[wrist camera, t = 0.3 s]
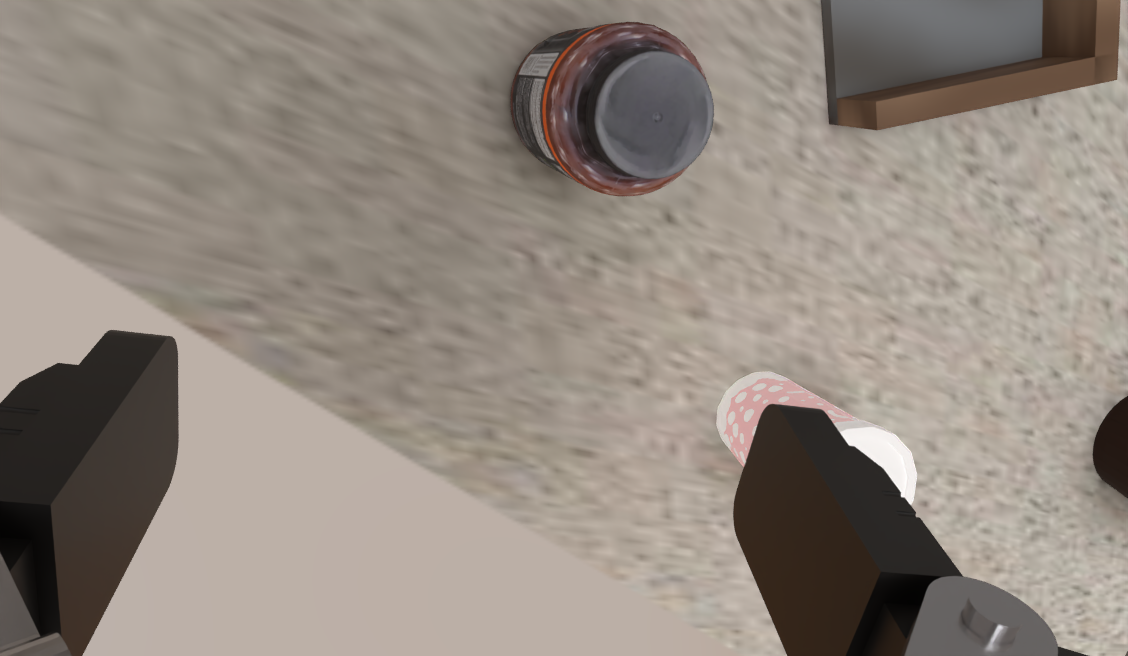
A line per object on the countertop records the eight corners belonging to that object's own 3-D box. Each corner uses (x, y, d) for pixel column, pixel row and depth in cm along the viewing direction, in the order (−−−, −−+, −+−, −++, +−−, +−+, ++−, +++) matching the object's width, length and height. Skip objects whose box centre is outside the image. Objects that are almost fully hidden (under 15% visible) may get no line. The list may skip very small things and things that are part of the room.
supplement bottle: (647, 38, 38) (761, 30, 27) (630, 175, 40) (732, 217, 29) (512, 21, 36) (578, 5, 26) (500, 164, 38) (558, 205, 27)
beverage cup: (831, 421, 46) (1022, 565, 33) (736, 489, 46) (890, 660, 33) (780, 333, 44) (963, 449, 31) (680, 403, 43) (822, 551, 30)
